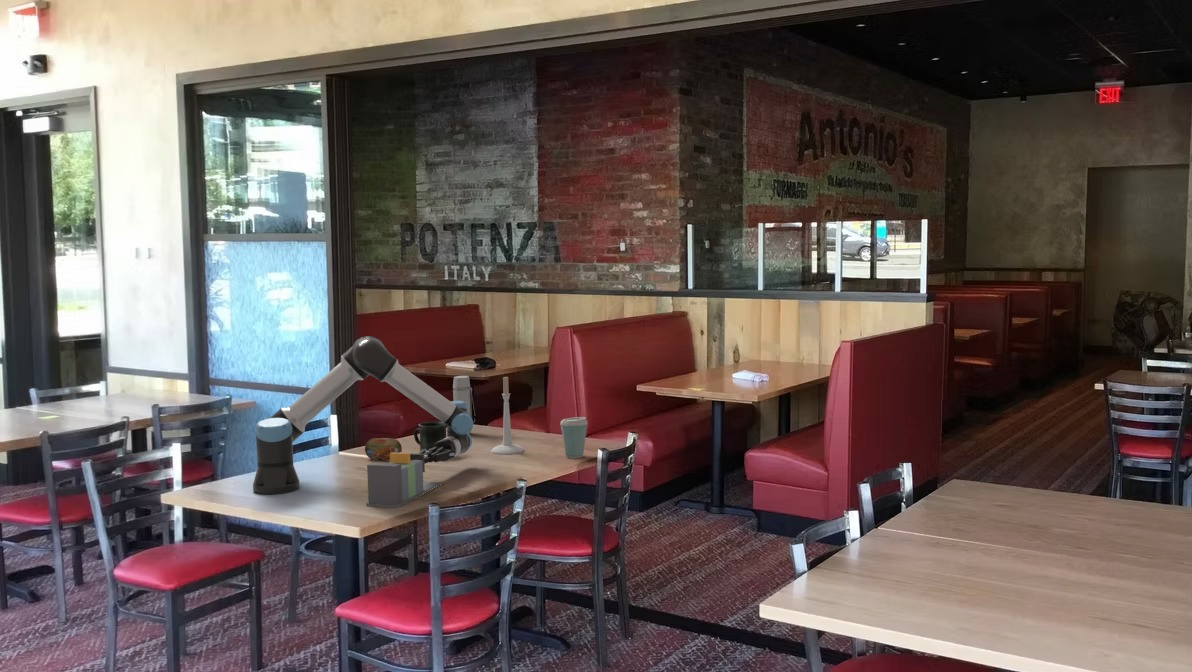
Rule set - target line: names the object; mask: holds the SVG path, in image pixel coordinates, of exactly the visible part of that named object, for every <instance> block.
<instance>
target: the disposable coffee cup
mask: <svg viewBox="0 0 1192 672" xmlns="http://www.w3.org/2000/svg"><path fill="white" fill-rule="evenodd" d="M559 425H560V429H561V435H562V441H563V447H564V454H565V456H566V458H570V459H580V458H583V457H584V453H585V445H586V444H585V443H586V436H587V428H588V420H587V417H585V416H574V417H569V418H563V419H562V420H561V421H560V424H559Z"/></svg>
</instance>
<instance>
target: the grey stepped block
mask: <svg viewBox="0 0 1192 672" xmlns="http://www.w3.org/2000/svg"><path fill="white" fill-rule="evenodd" d="M366 470H367V471H366V472H367V496H368V497H367V499H368V502H366V507H376V506H378V508H379V507H381V508H395V509H396V508H397V509H399V508H400V507H402V506H404V505H406V504H408V503H410V502H412V501H414V500H415V499H414V498H416V497H418V496H419V497H421V496H423V495H424V494H423V493H425V492H427V491H428V490H430V489H432V488H434V487H436V486H438V485H440V484H442V485H443V483H442V481H425V480H424V472H423V462H422V460H413V461H410V463H406V464H404V465H401V464H399V463H390V461H388V462H386V463H385V462H384V463H383V462H371V463H368V464H366ZM440 486H441V485H440ZM438 487H439V486H438ZM436 488H437V487H436ZM427 493H428V492H427ZM422 494H423V495H422ZM425 494H426V493H425ZM420 495H421V496H420ZM419 497H418V498H419ZM413 499H414V500H413ZM416 499H417V498H416ZM411 500H412V501H411ZM409 501H410V502H409ZM407 502H408V503H407Z"/></svg>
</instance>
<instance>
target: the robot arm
mask: <svg viewBox="0 0 1192 672" xmlns="http://www.w3.org/2000/svg"><path fill="white" fill-rule="evenodd" d="M369 376H371V377H373V378H375V379H376V380H378V381H379V382H380V383H384V382H386V383H387V384H389V385H390V386H391V387H393V388H394V389H395V390H397V391H398V392H400V393H401V394H402V395H404V396H405V397H407V398H408V399H410V400H411V401H412V402H414V404H417V405H418V406H419V407H420V408H422V409H423V410H425V411H426V412H428V413H429V414H430V415H432V416H433V417H435V418H436V419H437V420H439V422H443V423H444V424H446V438H444V439H442V440H440V441H438V442H436V443H435V445H434V446H433V448H431V449H429V450H428V451H426V449H421V451H419V452H418V453H417V454H424V462H425V465H426V464H428V463H432V462H433V463H438V462H447V461H450V460H452V459H454V458H455V457H457V456H459V455H462V454H464V453H466V452H467V451H468V450H470V449H471V447H472V446H473V438H472V436H471V434H468V433H469V432H470V431H471V432H472V430H473V427H474V423H473V422H474V421H473V417H472V418H471V416H470V415H468V413H467V410H468V409H467V403H466V402H464V401H454V400H449V399H447V398H446V397H445V396H443V395H442V394H441V393H439V391H437V390H435V389H434V388H433V387H431V386H430V385H428V384H427V383H426V382H424V381H423V380H422V379H420V378H419V377H418V376H416V375H414V374H413V373H412V372H410V371H409V370H408V369H407V368H405V367H403V365H401V364H400V363H399V359H398V358H397V357H395V356H394V355H392V354H391V353H390V352H389V350H388V349H387V348H386V347H385V345H384V343H383V342H382V341H381V340H380V339H378V338H377V337H374V336H362V337H360V338H358V339H356V341H355V342H354V343H353V345H352V346H351V347H350V348H349V349H347V350H346V351H345V352H344V353H343V354H342V355H341V357H340V362H339V363H338V364H337V365H336V366H335V367H333V368H332V369H331V370H330V371H329V372H328V373H326V374H325V375H324V376H323V377H322V378H321V379H319V380H318V381H317V382H316V383H315V384H314V385H313V386H312V387H311V388H309V389H308V390H307V391H306V392H304V393H303V394H302V395H301V396H300V397H299V398H297V399H296V400H295V401H294V402H293V403H292V404H291V405H290V406H288V407H280V408H279V409H278V410H277V411H276V412H275V413H274V414H272V416H269V417H267V418H265V419H263V420H262V419H261V420H260V421H258V422H257V423H256V425H255V430H254V431H255V432H254V433H255V440H256V441H255V443H256V444H255V445H256V461H257V469H256V472H255V476H254V479H253V482H252V490H253V491H255V492H258V493H257V494H259V493H262V495H275V494H276V495H277V493H278V494H285V493H290V492H293V491H297V490H299V489H300V487H301V485H300V484H301V483H300V479H299V476H298V474H297V471H296V469H295V465H294V451H293V450H294V449H293V443H294V441H296V440H297V439H298V438H299V437H300V436H302V435H304V433H305V432H306V431H305V430H306V426H307V424H309V423H310V422H311V421H312V420H314V419H315V418H316V417H317V416H319V414H320V413H321V412H322V411H324V410H325V409H326V408H327V407H329V406H330V405H331V404H332V403H333V402H334V401H335V400H336V399H337V398H338V397H340V395H342V394H343V393H344V392H345V391H346V390H347V389H349V388H350V387H351V386H352V385H353V384H354V383H355V382H357V381H364V380H365V379H367V378H368V377H369ZM255 492H254V493H255Z"/></svg>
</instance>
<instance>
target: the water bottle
mask: <svg viewBox="0 0 1192 672" xmlns="http://www.w3.org/2000/svg"><path fill="white" fill-rule="evenodd" d="M452 389H453V390H452V392H453V401H464V402H466V403H467V409H468V410H467V413H468V415H470V416H471V418H472V419H473V416H472V415H473V414H472V411H474V412H473V413H474V415H476V412H475V411H476V410H472V408H471V401H474V399H473V396H471V393H472V392H473V388H472V387H471V384H470V376H469V375H458V376H454V377H453V384H452ZM472 404H473V408H475V405H474V403H472ZM475 422H476V420H474V421H473V424H474V423H475ZM471 433H472V430H471V431H470V432H469V433H468V434H469V435H471Z"/></svg>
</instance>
